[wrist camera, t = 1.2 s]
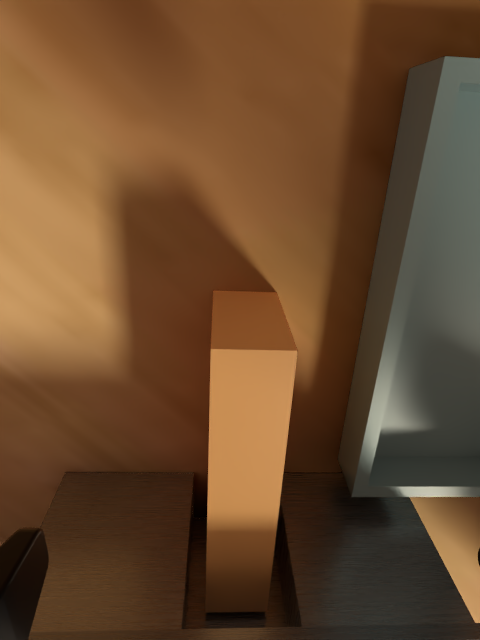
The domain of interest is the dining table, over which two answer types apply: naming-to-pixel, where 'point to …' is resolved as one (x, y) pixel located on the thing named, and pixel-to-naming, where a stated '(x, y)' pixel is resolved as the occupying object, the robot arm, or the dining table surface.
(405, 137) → the tray
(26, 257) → the dining table surface
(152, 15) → the dining table surface
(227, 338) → the orange-brown rectangular block
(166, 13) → the dining table surface
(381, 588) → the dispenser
